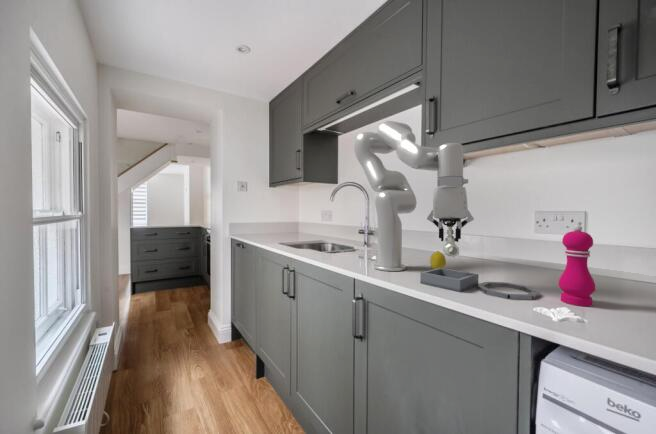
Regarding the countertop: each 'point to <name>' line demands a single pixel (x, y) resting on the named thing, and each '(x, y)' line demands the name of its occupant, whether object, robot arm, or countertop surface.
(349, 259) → the countertop surface
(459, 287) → the bin
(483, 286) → the segmented octagonal ring
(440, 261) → the lemon
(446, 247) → the valve
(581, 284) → the pepper mill
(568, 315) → the acanthus leaf ornament
